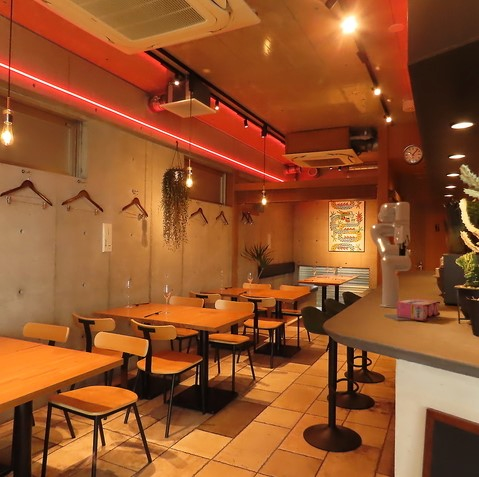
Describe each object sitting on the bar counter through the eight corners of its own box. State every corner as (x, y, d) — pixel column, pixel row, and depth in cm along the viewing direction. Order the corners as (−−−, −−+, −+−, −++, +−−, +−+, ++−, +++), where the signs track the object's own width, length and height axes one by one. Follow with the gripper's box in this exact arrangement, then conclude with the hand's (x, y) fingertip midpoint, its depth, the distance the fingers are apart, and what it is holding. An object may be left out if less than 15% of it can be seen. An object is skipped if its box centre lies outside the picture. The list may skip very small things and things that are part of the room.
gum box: (415, 298, 228) (441, 300, 219) (415, 312, 228) (441, 315, 218) (396, 301, 211) (423, 304, 202) (396, 317, 211) (423, 321, 202)
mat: (384, 316, 219) (384, 314, 219) (426, 315, 222) (426, 314, 222) (397, 321, 205) (397, 319, 205) (442, 320, 208) (442, 318, 208)
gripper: (389, 224, 241) (389, 255, 241) (403, 223, 226) (403, 256, 226) (401, 224, 242) (401, 255, 242) (415, 223, 227) (415, 256, 227)
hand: (402, 255), depth 234 cm, fingers closed
